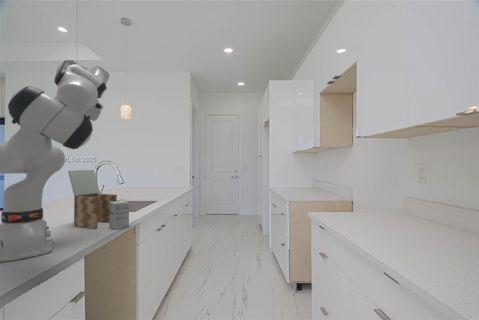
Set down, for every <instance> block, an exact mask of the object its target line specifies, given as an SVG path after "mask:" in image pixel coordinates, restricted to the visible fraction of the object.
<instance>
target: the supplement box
mask: <svg viewBox="0 0 479 320" xmlns="http://www.w3.org/2000/svg"><path fill="white" fill-rule="evenodd" d="M129 222H130V202H128V201H127V200H117V201H114V202H110V214H109V224H108V225H109V228H112V229H113V230H118V229H119V230H121V229H124V228H129V225H130V223H129Z"/></svg>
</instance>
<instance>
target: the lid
mask: <svg viewBox="0 0 479 320" xmlns="http://www.w3.org/2000/svg"><path fill="white" fill-rule="evenodd" d="M67 173H68V176H69V180H70V183H71V188H72V192H73V196H75V197H76V196H84V195H91V194H101V192H100V188H99V185H98V180H97V177H96V173H95V170H94V169H84V170H83V169H82V170H81V169H79V170H77V169H76V170H68V171H67Z"/></svg>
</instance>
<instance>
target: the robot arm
mask: <svg viewBox="0 0 479 320" xmlns="http://www.w3.org/2000/svg"><path fill="white" fill-rule="evenodd" d="M109 79H110V74H109V73H108V71H106V70H105V69H103V68H102V67H100V66H98V65H93V66H92V67H91V68H90V69H89V70H87V69H86V68H84V67H82V66H81V65H80V64H78V63H77V62H76V61H74V60H71V59H70V60H69V59H67V60H64V61H62V62H61V63H60V64H59V65H58V67H57V69H56V74H55V76H54V80H53V81H54V84H55V85H56V86H57V87H58V88H57V91H56V96H55V97H53V96H51V95H50V94H48V93H45V90H42V89H40V88H38V87H35V86H32V85H31V86H25V87H23V88H21V89H19V90H16V91H15V92H14V93H13V94H12V96H11V97H10V100H9V103H8V105H7V109H8V113H9V115H10V117H11V118H12V120H11V123H12V124H13V125H15V124H17V125H18V126H19V129H18V130H17V131H16V132H15V133H14V134H13V135H12V136H10V137H9V139H8V141H4V142H0V174H1V175H4V174H5V175H7V174H25V175H26V177H25V178H24V179H22V180H21V181H18V182H16V183H13V184H11V185H9V186H8V187H6V188H5V189H4V191H3V203H2V204H3V208H2V209H3V210H2V211H1V215H0V219H1V224H0V262H11V261H16V260H17V261H18V260H22V259H27V258H28V259H29V258H34V257H37V256H41V255H46V254H48V253H51V252H52V251H53V244H54V239H53V238H50V237H52V236H51V235H52V233H51V231H52V230H49V229H50V227H49V225H48V223H47V221H46V220H45V219H44V208H42V205H43V194H44V193H43V192H44V188H45V185H46V183H47V181H49V179H50V178H51V176H53V175H54V174H56V173H57V172H59V171H60V170H61V169H62V168H63V167H64V165H65V163H66V155H65V153H64V152H63V150H62V149H61V148H60V147H56V146H53V142H52V141H54V142H57V143H59V144H60V145H61V144H62V147H65V148H67V149H71V150H76V149H79V148H81V147H83V146H85V145H87V143H88V142H89V140H90V139H91V138H92V135H93V134H92V133H93V129H94V128H93V123H92V122H95V121H97V120H98V119H99V117H100V115H101V113H102V110H103V109H104V106H103V104H101V102H100V101H99V100H98V99H101V98H102V97H103V94H104V93H105V91H106V90H107V89H108V87H107V84H108V81H109ZM91 121H92V122H91Z"/></svg>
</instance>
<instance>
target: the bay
mask: <svg viewBox="0 0 479 320" xmlns="http://www.w3.org/2000/svg"><path fill="white" fill-rule="evenodd" d="M117 195H118V194H112V193H99V194H91V195H84V196H76V197H75V196H74V195H73V196H74V199H73V200H74V202H73V204H74V205H73V207H74V208H73V209H74V211H73V213H74V214H73V224H74V228H84V229H94V230H96V229H98V222H99V223H109V214H110V202H114V201H118V198H117V197H118V196H117Z"/></svg>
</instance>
